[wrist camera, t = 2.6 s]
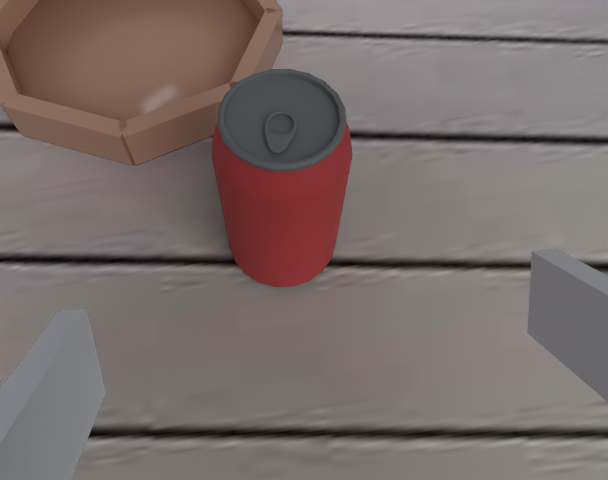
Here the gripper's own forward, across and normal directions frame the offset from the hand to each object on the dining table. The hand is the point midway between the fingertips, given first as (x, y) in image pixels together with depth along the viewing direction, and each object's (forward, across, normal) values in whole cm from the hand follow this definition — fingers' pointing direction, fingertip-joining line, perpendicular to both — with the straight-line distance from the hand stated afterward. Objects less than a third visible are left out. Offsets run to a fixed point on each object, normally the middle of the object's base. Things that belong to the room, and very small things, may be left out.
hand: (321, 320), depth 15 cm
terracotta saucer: (+30, -8, +10) cm, 33 cm away
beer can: (+18, 0, -3) cm, 18 cm away
